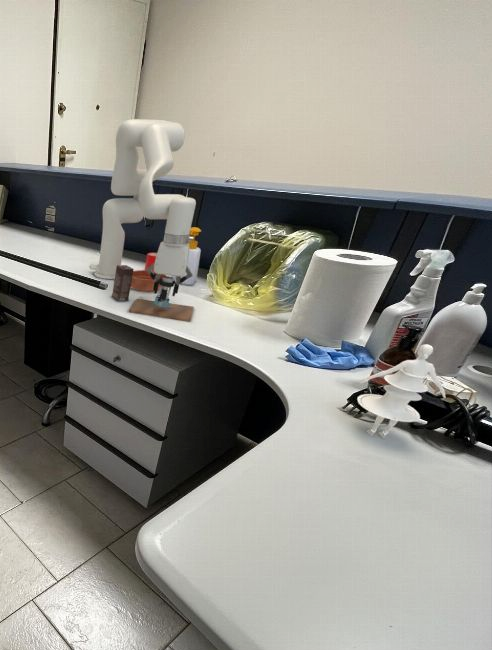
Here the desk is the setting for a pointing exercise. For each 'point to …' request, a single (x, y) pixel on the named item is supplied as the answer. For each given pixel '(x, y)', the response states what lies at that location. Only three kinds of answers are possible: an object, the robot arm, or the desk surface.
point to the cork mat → (162, 310)
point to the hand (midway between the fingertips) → (164, 293)
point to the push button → (164, 292)
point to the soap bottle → (192, 258)
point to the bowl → (143, 281)
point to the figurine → (401, 391)
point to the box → (122, 282)
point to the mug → (150, 260)
